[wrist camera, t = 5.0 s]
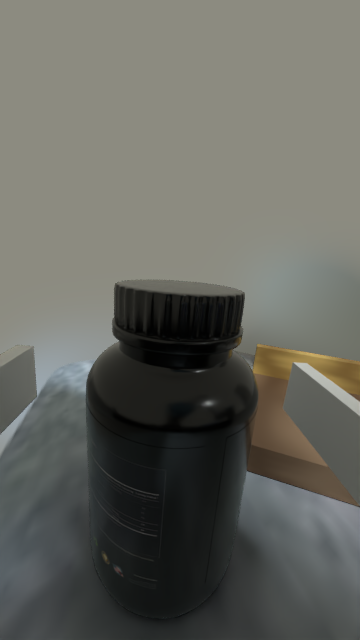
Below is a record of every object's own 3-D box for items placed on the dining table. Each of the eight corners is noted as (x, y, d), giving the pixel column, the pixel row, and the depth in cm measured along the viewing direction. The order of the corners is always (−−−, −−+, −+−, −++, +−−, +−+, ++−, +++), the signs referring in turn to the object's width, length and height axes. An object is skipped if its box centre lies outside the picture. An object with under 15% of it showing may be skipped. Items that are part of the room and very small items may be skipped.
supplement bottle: (156, 449, 16) (169, 275, 13) (251, 515, 12) (298, 293, 10) (57, 536, 11) (43, 274, 8) (173, 702, 7) (229, 313, 4)
